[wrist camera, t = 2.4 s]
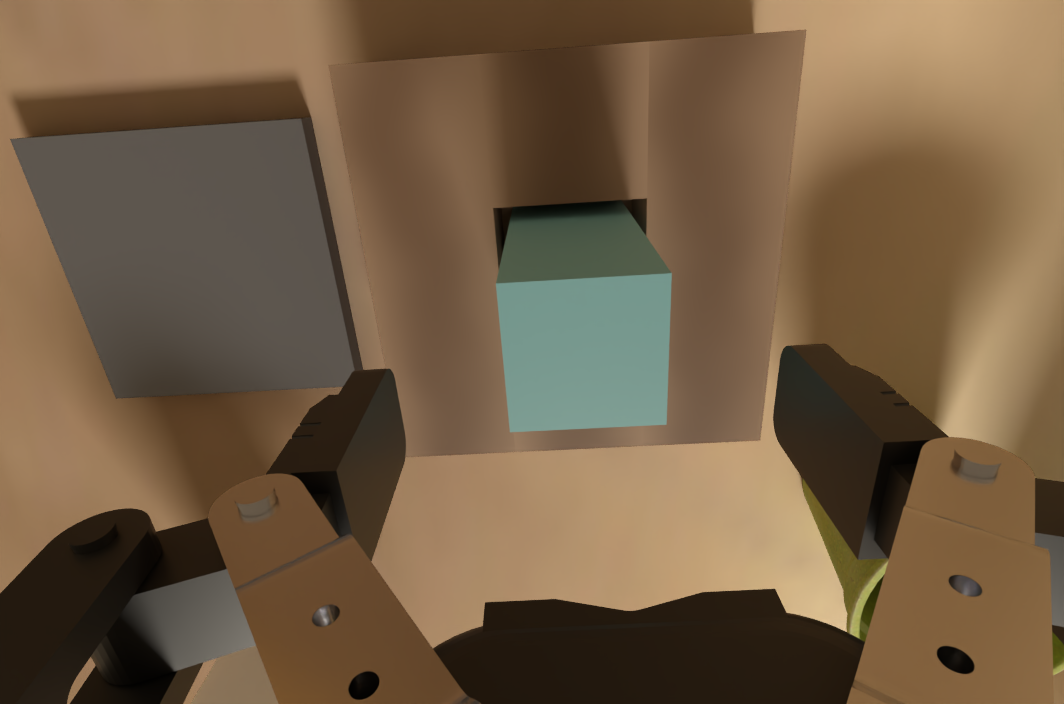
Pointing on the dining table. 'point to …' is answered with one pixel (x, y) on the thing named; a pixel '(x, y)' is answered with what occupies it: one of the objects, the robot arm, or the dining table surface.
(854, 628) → the plant pot
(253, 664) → the mug
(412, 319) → the pocket block
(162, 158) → the mat
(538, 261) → the peg
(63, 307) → the dining table surface
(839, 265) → the dining table surface
